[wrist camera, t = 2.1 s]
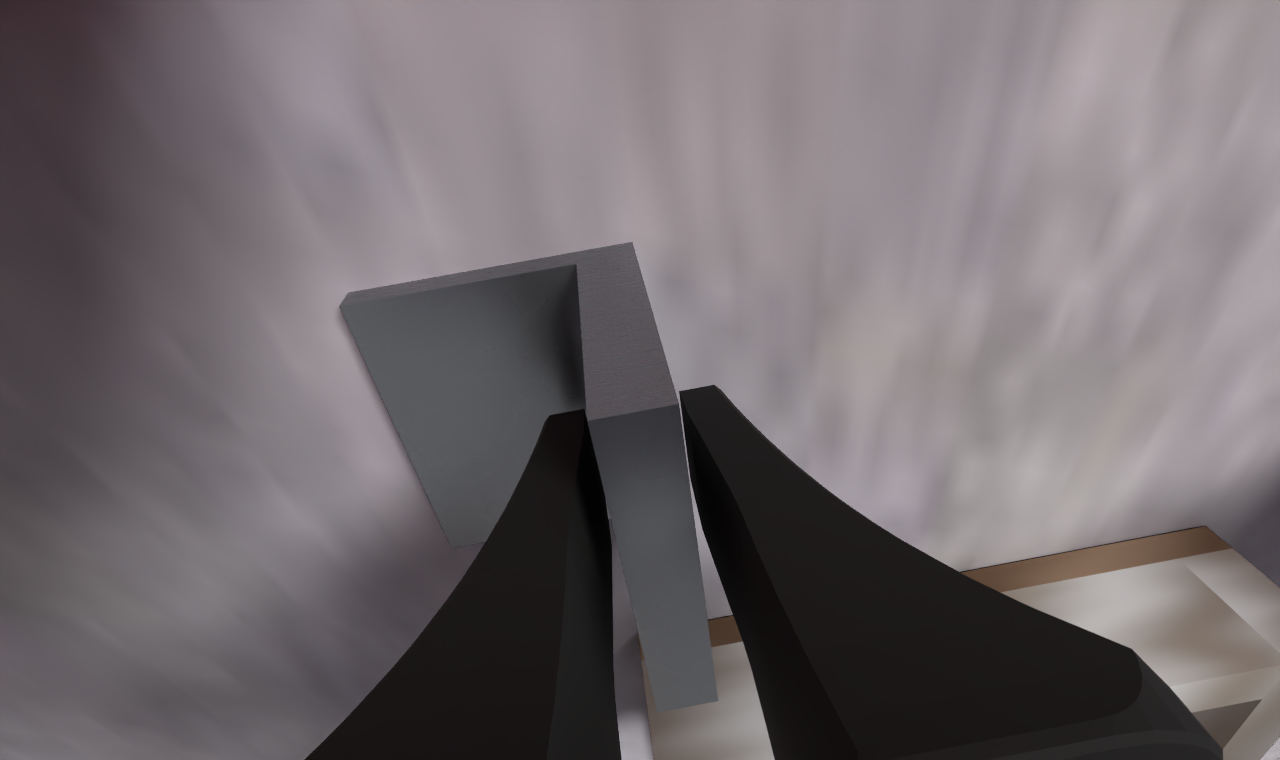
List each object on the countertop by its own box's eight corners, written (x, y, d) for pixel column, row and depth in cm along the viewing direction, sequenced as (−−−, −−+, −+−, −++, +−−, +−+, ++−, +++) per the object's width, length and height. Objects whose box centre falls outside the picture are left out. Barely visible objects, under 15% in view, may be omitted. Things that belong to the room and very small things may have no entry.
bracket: (631, 241, 11) (678, 403, 7) (670, 488, 14) (718, 701, 10) (349, 291, 11) (216, 489, 6) (455, 528, 14) (412, 760, 10)
